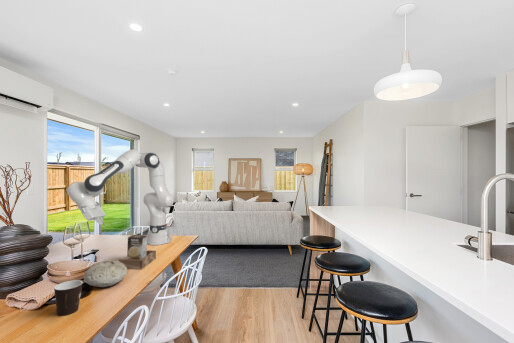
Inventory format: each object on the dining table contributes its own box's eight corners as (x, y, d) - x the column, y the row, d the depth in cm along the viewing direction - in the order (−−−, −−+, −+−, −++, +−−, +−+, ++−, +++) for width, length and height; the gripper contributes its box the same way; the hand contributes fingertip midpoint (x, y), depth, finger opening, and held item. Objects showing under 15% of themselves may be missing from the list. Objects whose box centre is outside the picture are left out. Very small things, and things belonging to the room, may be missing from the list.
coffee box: (126, 265, 143) (126, 237, 144) (132, 261, 150) (132, 234, 150) (141, 265, 143) (142, 237, 143) (146, 261, 149) (147, 235, 150)
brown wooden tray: (125, 259, 156) (125, 250, 156) (155, 260, 155) (155, 250, 155) (107, 270, 137) (107, 259, 137) (141, 271, 137) (141, 260, 137)
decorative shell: (135, 278, 125) (135, 258, 125) (105, 294, 107) (106, 271, 108) (106, 274, 129) (106, 255, 129) (73, 289, 112) (74, 267, 112)
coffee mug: (63, 305, 98) (64, 280, 98) (86, 305, 98) (87, 279, 99) (40, 323, 86) (41, 294, 86) (66, 322, 87) (67, 293, 87)
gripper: (85, 203, 140) (100, 222, 140) (99, 202, 160) (112, 219, 160) (74, 210, 138) (90, 229, 139) (90, 209, 158) (104, 225, 159)
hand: (102, 224), depth 150 cm, fingers closed
